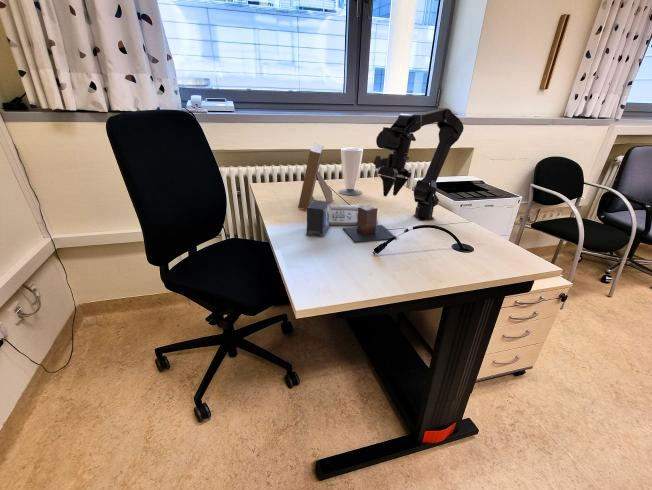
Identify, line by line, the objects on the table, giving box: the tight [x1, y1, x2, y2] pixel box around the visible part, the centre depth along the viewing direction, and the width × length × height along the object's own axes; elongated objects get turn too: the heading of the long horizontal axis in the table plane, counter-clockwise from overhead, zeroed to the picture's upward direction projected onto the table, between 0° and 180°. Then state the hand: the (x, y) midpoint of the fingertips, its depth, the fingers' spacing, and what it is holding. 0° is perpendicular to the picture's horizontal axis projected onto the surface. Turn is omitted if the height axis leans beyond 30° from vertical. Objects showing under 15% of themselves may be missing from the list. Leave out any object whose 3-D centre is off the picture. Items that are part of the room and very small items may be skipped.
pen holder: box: [356, 204, 378, 236], centre depth 125 cm, size 5×5×10 cm
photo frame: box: [297, 143, 334, 211], centre depth 154 cm, size 15×22×25 cm
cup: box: [339, 146, 364, 196], centre depth 173 cm, size 12×12×22 cm
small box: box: [306, 199, 330, 237], centre depth 125 cm, size 11×6×10 cm, turn 168°
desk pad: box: [342, 224, 397, 244], centre depth 127 cm, size 16×14×1 cm
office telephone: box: [329, 204, 378, 226], centre depth 144 cm, size 23×3×20 cm
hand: (389, 195), depth 128 cm, fingers open, 9 cm apart
